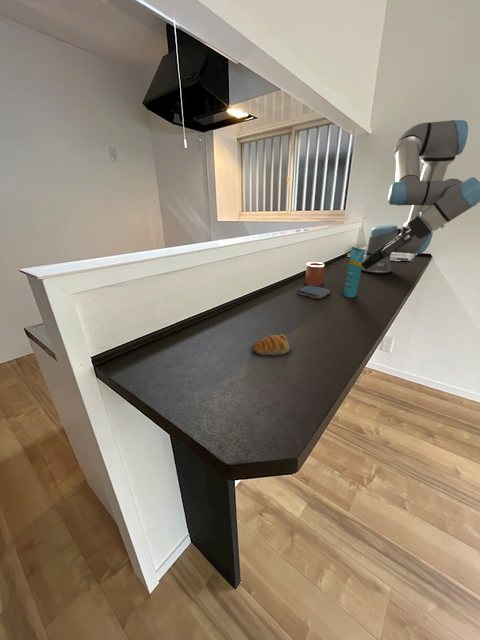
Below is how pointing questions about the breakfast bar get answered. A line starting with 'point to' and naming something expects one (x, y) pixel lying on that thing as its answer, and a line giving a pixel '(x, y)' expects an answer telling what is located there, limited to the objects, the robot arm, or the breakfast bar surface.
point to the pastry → (272, 345)
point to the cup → (314, 273)
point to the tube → (353, 272)
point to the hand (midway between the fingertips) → (366, 263)
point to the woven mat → (313, 291)
